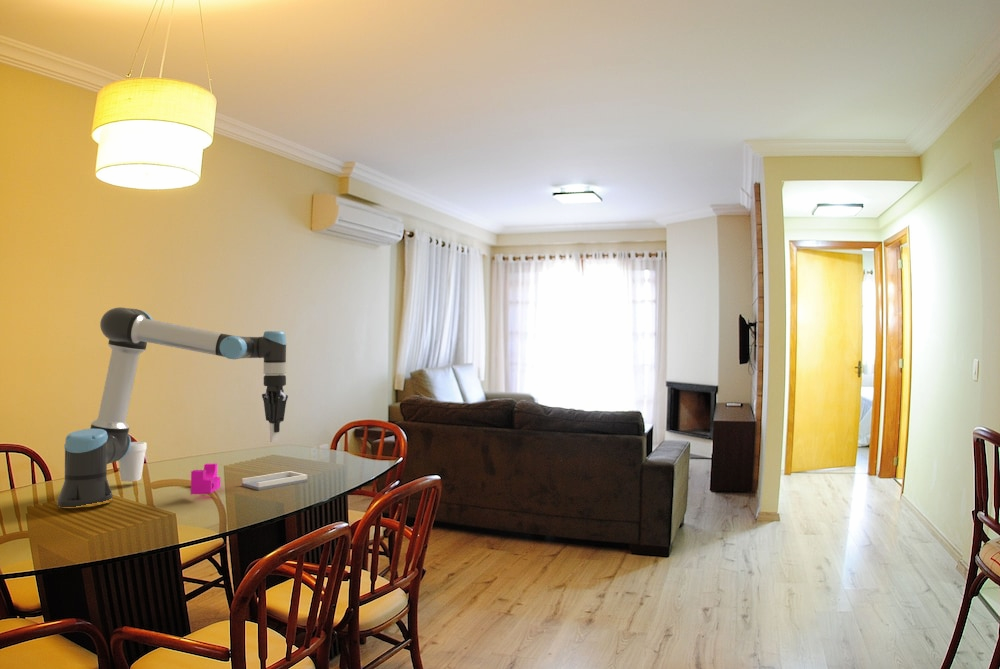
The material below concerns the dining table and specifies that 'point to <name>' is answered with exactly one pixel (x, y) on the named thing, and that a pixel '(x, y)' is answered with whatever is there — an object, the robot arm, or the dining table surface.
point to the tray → (274, 480)
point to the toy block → (205, 479)
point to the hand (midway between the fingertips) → (274, 441)
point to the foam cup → (133, 462)
